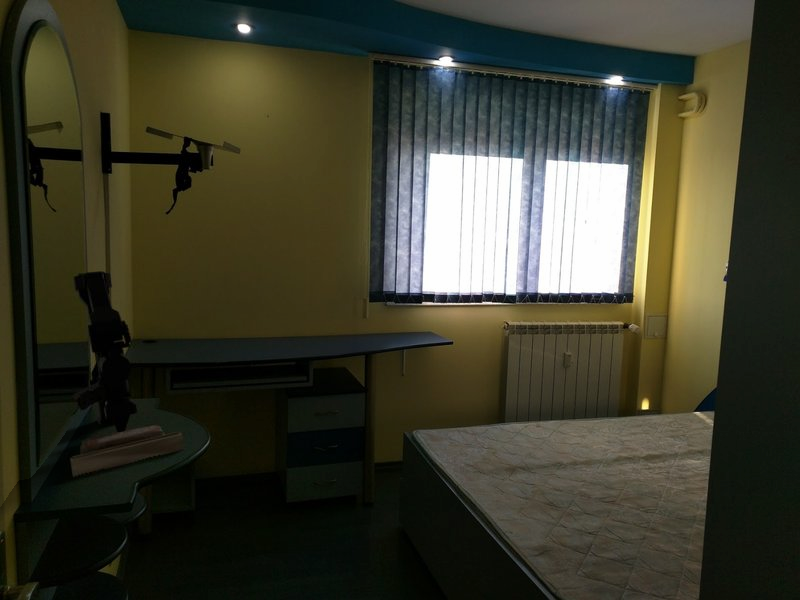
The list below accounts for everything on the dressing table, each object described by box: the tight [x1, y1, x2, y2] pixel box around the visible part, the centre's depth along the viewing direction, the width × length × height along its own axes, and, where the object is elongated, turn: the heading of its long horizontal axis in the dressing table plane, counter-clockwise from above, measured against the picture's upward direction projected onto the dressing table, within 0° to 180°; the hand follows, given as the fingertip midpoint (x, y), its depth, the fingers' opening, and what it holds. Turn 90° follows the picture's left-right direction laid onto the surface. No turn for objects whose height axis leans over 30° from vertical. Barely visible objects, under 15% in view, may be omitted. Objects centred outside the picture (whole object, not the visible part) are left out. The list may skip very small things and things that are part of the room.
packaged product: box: [79, 425, 165, 454], centre depth 132 cm, size 18×5×10 cm
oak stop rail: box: [69, 431, 185, 478], centre depth 127 cm, size 2×22×4 cm, turn 122°
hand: (120, 434), depth 138 cm, fingers closed
